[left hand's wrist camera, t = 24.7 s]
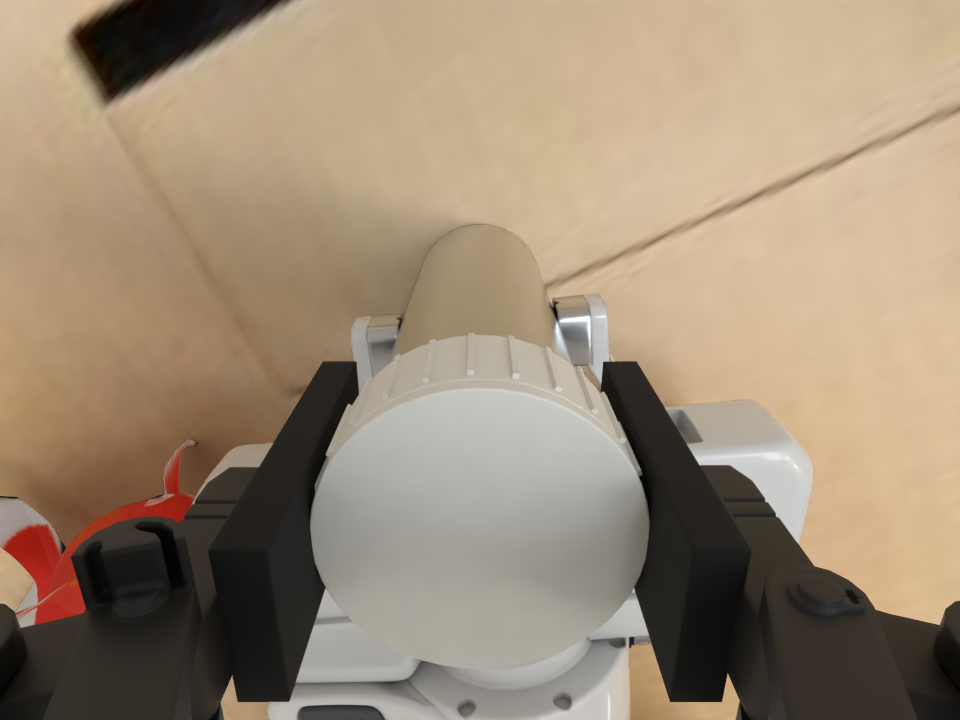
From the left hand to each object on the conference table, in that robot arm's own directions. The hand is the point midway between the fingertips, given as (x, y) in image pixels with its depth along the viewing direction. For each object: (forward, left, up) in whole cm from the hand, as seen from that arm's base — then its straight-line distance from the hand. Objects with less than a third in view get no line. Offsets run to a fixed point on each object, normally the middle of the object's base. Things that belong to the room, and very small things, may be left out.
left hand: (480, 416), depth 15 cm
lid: (0, 0, +4) cm, 4 cm away
